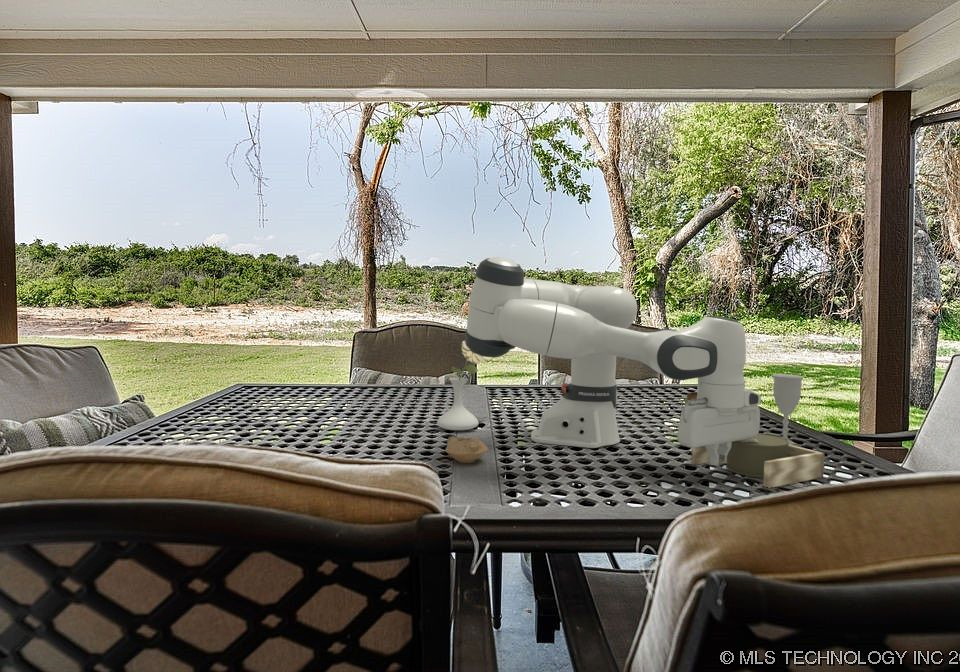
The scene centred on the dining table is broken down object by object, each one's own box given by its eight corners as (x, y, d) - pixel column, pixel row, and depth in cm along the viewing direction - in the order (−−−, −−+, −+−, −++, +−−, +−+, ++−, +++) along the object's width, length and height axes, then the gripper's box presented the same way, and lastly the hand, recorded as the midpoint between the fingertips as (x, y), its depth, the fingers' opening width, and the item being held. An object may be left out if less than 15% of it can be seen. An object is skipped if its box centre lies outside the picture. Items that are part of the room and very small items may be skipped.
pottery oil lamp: (467, 448, 141) (480, 423, 139) (480, 479, 130) (495, 453, 129) (433, 438, 138) (447, 413, 136) (444, 469, 127) (459, 442, 125)
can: (800, 475, 125) (802, 442, 124) (756, 481, 120) (757, 447, 120) (755, 460, 136) (756, 430, 135) (712, 465, 131) (714, 434, 131)
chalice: (804, 454, 142) (808, 378, 140) (773, 452, 143) (776, 377, 142) (794, 447, 149) (798, 374, 148) (765, 445, 150) (768, 373, 149)
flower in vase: (445, 435, 156) (446, 339, 155) (431, 426, 167) (431, 336, 165) (491, 431, 161) (492, 338, 160) (474, 423, 172) (475, 335, 170)
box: (767, 488, 115) (769, 462, 115) (691, 463, 132) (692, 441, 132) (823, 477, 123) (824, 453, 123) (744, 455, 140) (745, 433, 140)
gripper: (696, 402, 114) (694, 474, 115) (766, 395, 124) (764, 461, 124) (671, 397, 119) (669, 466, 120) (740, 391, 129) (737, 454, 130)
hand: (718, 463), depth 122 cm, fingers closed
